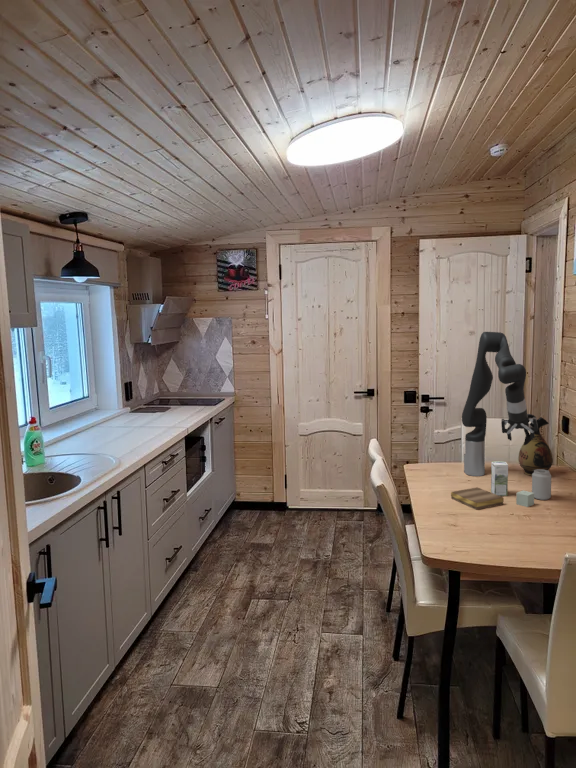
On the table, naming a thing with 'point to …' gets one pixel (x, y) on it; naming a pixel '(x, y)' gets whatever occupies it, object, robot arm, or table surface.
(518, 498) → the pale green cube
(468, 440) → the robot arm
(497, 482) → the syrup box
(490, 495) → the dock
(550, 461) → the ceramic jug
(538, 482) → the can
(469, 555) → the table surface
